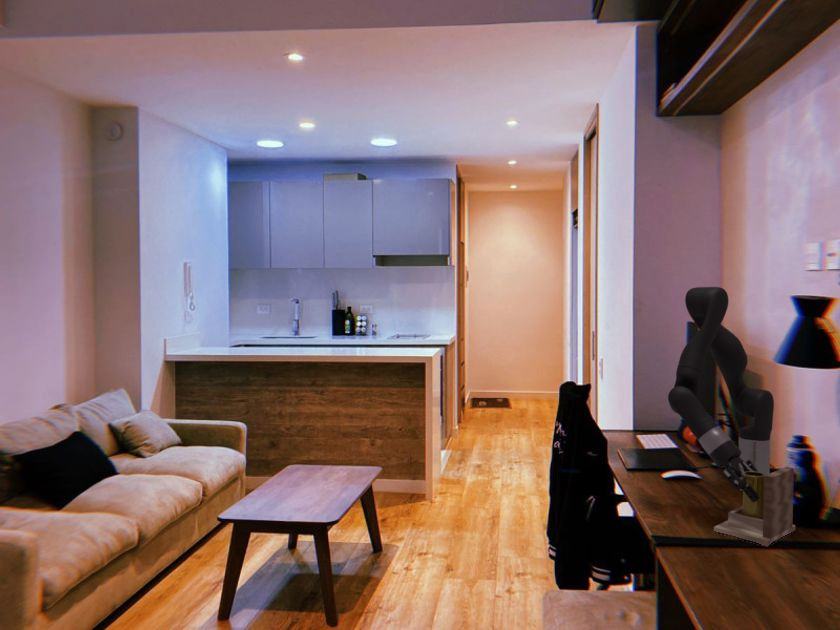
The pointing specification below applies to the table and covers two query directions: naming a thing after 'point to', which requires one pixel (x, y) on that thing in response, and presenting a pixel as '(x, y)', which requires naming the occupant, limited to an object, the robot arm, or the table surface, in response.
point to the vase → (757, 485)
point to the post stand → (766, 512)
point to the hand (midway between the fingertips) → (761, 497)
